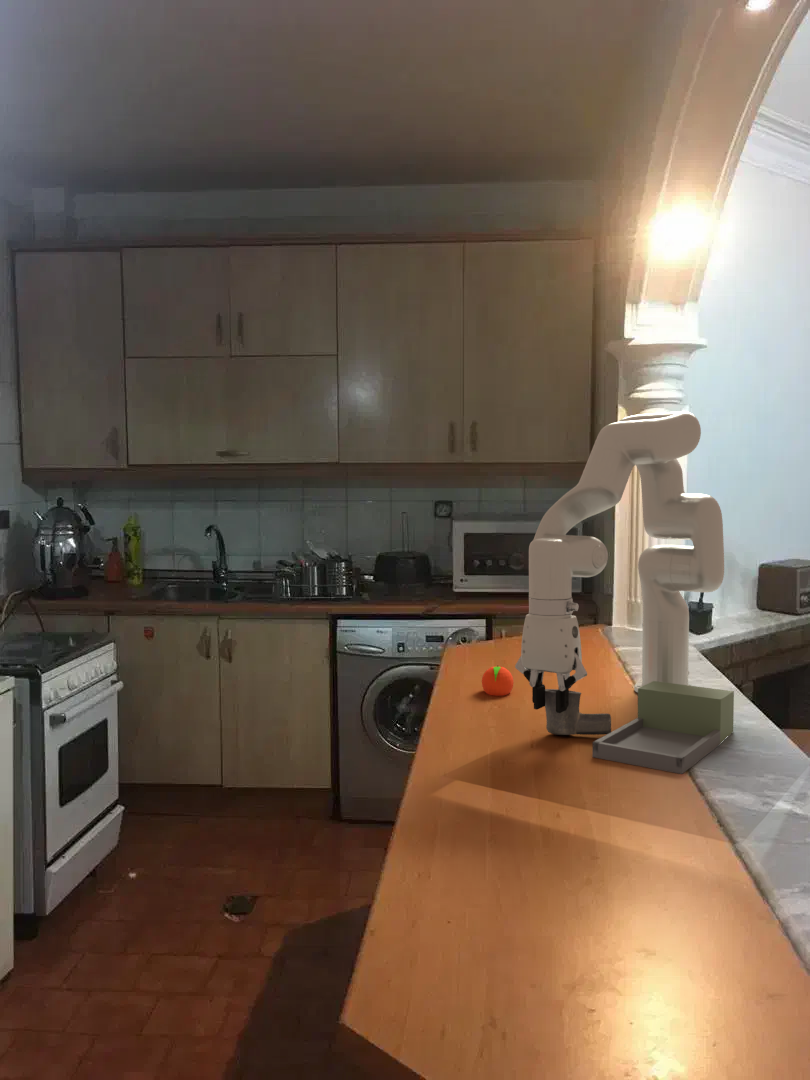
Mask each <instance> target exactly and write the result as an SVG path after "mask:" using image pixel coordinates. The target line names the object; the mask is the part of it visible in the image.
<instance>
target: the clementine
mask: <svg viewBox="0 0 810 1080" xmlns="http://www.w3.org/2000/svg"><path fill="white" fill-rule="evenodd" d="M481 678H482V679H481V687H482V689H483V691H484V692H485V694H487V695H488V696H492V697H493V696H496V697H498V696H499V697H500V696H501V697H502V696H506V695H509V694H510V693H511V692H512V690H513V688H514V683H515V682H514V677H513V675H512V672H510V670H508V669H507V668H506V667H504V666H499V665H496V666H490V667H489V668H488V669H486V671H484V673H483V675H482V676H481Z"/></svg>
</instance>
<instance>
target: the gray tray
mask: <svg viewBox="0 0 810 1080" xmlns="http://www.w3.org/2000/svg"><path fill="white" fill-rule="evenodd" d="M689 685H690V684H688V685H681V684H673V683H665V682H657V681H653V682H651V683H648V684H646V685H644V686H642V687H640V688H638V693H637V717H636V718H634V719H632V720H631V721H629V722H628V723H625V724H623V725H622V726H620V727H618V728H616V729H614V730H613V731H612V730H611V733H609V734H605V735H603V736H601V737H600V738H597V739H596V740H594V741H592V756H591V757H592V758H596V759H600V760H606V761H612V762H617V763H622V764H627V765H631V766H632V765H633V766H636V767H637V766H638V767H642V768H643V767H644V768H650V769H653V770H659V771H664V772H665V771H666V772H669V773H675V774H680V775H683V774H684V773H685V772H687V771H688V770H689V769H690V768H692V767H693V766H694V765H696V764H697V763H698V762H699V761H701V760H702V759H703V758H705V757H706V756H707V755H709V754H710V753H711V752H712V751H714V750H715V749H717V746H718V745H719V744H720V743H721V742H722V741H723V740H724V739H725V738H726V737H727V736H729V735H730V734H731V733H732V732H733V733H734V714H735V713H734V709H735V707H734V706H735V703H734V702H735V700H734V699H735V690H734V691H733V690H728V689H727V690H725V689H719V688H712V687H711V688H710V687H704V686H703V687H702V686H695V685H691V686H689ZM733 733H732V734H733ZM732 734H731V735H732ZM731 735H730V736H731ZM730 736H729V737H730ZM720 745H721V744H720ZM720 745H719V746H720ZM719 746H718V747H719Z"/></svg>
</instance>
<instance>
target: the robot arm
mask: <svg viewBox="0 0 810 1080" xmlns="http://www.w3.org/2000/svg"><path fill="white" fill-rule="evenodd" d="M701 429H702V428H701V424H700V421H699V420H698V418H697V417H696V416H695V414H693V413H691V412H689V411H687V410H686V411H685V410H682V411H670V412H669V411H668V412H653V413H642V414H634V415H630V416H626V417H624V418H621V419H619V420H618V421H616V422H612V423H609V424H606V425H605V426H604V427H603V426H602V428H601V429H600V431H599V432H598V434H597V437H596V439H595V441H594V444H593V446H592V448H591V451H590V453H589V456H588V459H587V462H586V464H585V467H584V469H583V471H582V474H581V475H580V479H579V481H578V483H577V484H576V485H575V486H574V487H572V488H571V489H569V490H568V491H567V492H566V493H564V494H563V495H562V496H561V497H560V498H559V499H558V500H557V501H556V502H554V504H552V505H551V507H549V509H547V511H546V512H545V513H544V515H543V516H542V518H541V520H540V522H539V525H538V527H537V529H536V531H535V535H534V538H533V539H532V541H531V542H530V543H529V546H528V614H526V615H525V618H524V622H523V623H524V624H523V628H522V637H521V652H520V654H521V655H520V657H519V659H518V660H517V662H516V664H515V666H514V667H515V669H516V670H518V671H519V673H521V674H523V676H524V677H525V678H526V680H527V681H528V682H529V686H530V687H532V688H531V689H532V691H531V693H532V698H531V699H532V700H531V701H532V704H533V710H539V709H541V708H545V689H546V685H545V684H543V680H544V673H554V674H556V678H557V685H558V686H557V688H558V690H557V691H556V712H557V713H561V712H564V711H566V710H567V707H568V705H569V691H570V689H571V688H572V686H573V685H574V684H575V683H577V681H580V680H582V679H584V678H586V677H587V676H588V672H587V670H586V668H585V666H584V664H583V661H582V660H583V657H582V644H581V643H582V642H581V635H580V628H579V627H580V626H579V622H578V618H577V615H574V614H573V613H574V612H578V610H579V607H580V606H579V604H578V603H577V602H574V601H573V600H574V598H573V597H572V585H573V583H572V582H573V581H572V580H573V577H574V578H575V577H576V578H591V577H595V576H597V575H599V574H601V572H602V571H603V570H604V569H605V567H606V566H607V565H608V564H607V563H608V559H609V553H608V549H607V547H606V545H605V544H604V543H603V541H601V540H600V539H599V538H597V537H594V536H591V535H590V536H589V535H588V536H587V535H573V534H567V533H568V532H569V531H570V530H571V529H573V527H575V526H576V525H577V524H579V523H580V522H583V520H586V519H587V518H590V517H592V516H595V515H597V514H600V513H602V512H605V511H607V510H609V509H611V508H613V507H615V506H616V505H618V504H619V503H620V501H621V500H622V497H623V495H624V493H625V490H626V486H627V483H628V482H629V479H630V476H631V473H632V470H633V468H635V466H636V469H637V470H638V473H639V476H640V477H639V478H640V485H641V500H642V501H641V504H642V519H643V520H642V521H643V527H644V530H645V532H646V534H647V535H648V536H649V537H652V538H655V539H661V540H682V541H683V540H684V541H685V540H686V541H691V542H692V544H693V545H684V544H683V545H681V544H680V545H679V544H656V545H652V546H649V547H647V548H645V549H644V550H643V551H642V552H641V554H640V555H639V558H638V563H637V569H638V575H639V582H640V587H641V588H640V589H641V596H642V599H641V600H642V631H641V633H642V635H641V636H642V638H641V640H642V641H641V642H642V643H641V647H642V648H641V649H642V650H641V651H642V653H641V658H642V659H641V681H640V682H636V683H635V684H634V686H633V687H634V692H636V693H637V694H638V688H640V687H642V686H644V685H646V684H648V683H651V682H653V681H657V682H665V683H673V684H681V685H689V686H692V685H690V684H689V676H690V670H689V651H690V650H689V648H690V647H689V645H690V642H689V641H690V637H689V636H690V635H689V634H690V611H689V607H688V604H687V602H686V600H685V598H684V596H683V595H682V594H681V592H692V593H712V592H715V591H717V590H718V589H720V587H721V586H722V583H723V580H724V578H725V577H724V576H725V548H724V546H725V545H724V521H723V515H722V514H723V513H722V509H721V505H720V504H719V503H718V501H717V500H716V498H714V497H713V496H711V495H709V494H704V493H686V492H685V488H684V476H683V469H682V466H681V464H680V462H679V460H678V459H679V458H682V457H684V456H687V455H689V454H691V453H692V452H693V451H694V450H695V449H696V448H697V447H698V445H699V443H700V439H701V434H702V430H701ZM572 614H573V615H572ZM572 671H575V673H574V674H572V675H571V673H572Z"/></svg>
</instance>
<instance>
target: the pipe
mask: <svg viewBox="0 0 810 1080" xmlns="http://www.w3.org/2000/svg"><path fill="white" fill-rule="evenodd" d="M557 690H558V689H555V688H545V706H544V709H545V717H546V724H545V725H546V726H545V727H546V731H547V732H548V733H550V734H552V735H559V736H571V735H588V736H590V735H592V736H594V735H597V736H598V735H600V736H601V735H603V736H605V735H607V734H609V733H611V732H612V716H611V714H610V713H582V712H580V703H581V695H582V692H580V691H575V690H569V705H568V707H567V710H566V711H564V712H561V713H557V712H556V691H557Z"/></svg>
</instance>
